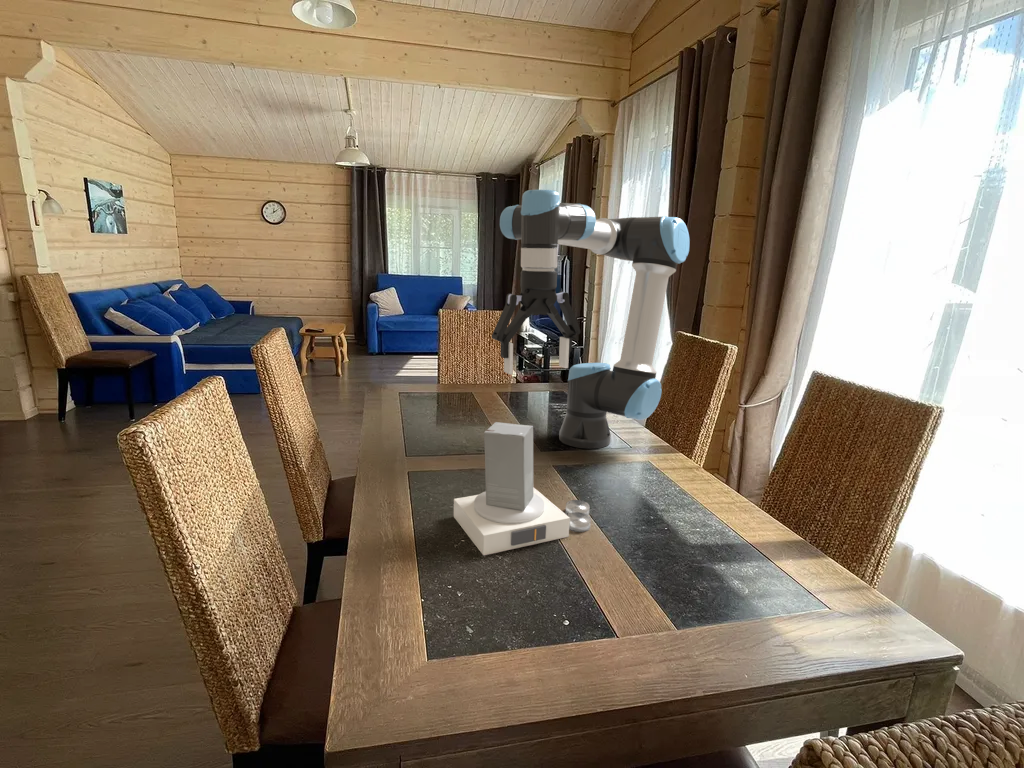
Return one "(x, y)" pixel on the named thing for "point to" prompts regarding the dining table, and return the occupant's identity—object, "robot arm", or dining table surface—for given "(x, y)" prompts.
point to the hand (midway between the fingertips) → (536, 370)
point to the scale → (510, 523)
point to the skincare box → (509, 465)
